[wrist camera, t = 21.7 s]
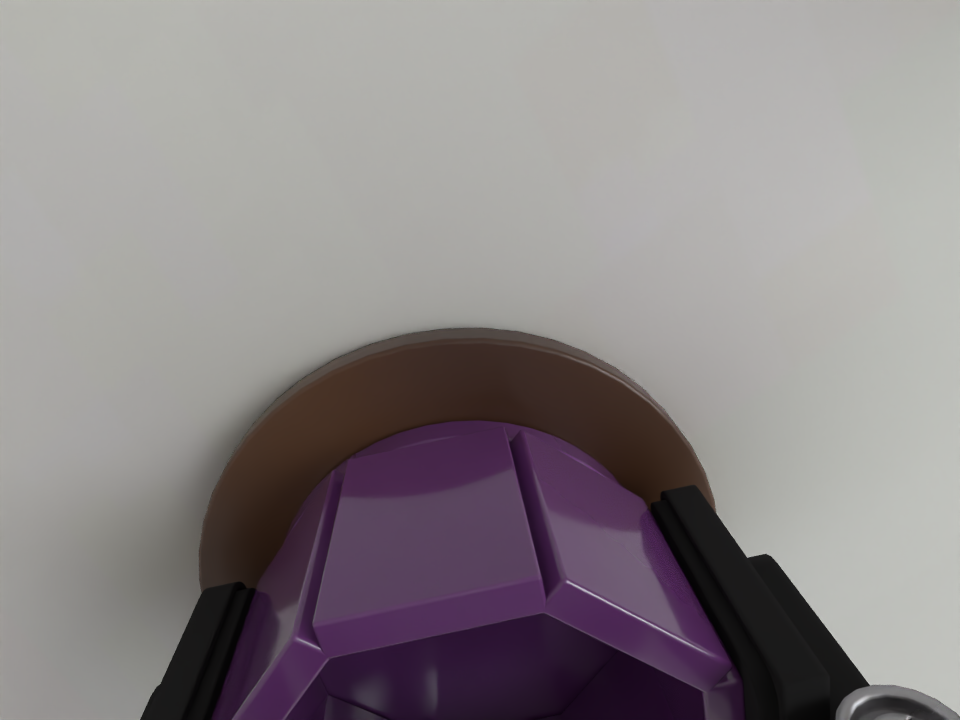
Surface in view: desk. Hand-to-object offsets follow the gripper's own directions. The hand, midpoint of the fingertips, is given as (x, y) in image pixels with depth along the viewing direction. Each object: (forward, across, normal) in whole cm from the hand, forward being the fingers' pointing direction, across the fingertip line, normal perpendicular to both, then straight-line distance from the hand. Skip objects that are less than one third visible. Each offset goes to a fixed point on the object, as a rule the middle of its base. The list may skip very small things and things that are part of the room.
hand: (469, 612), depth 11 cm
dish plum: (+1, 0, 0) cm, 1 cm away
